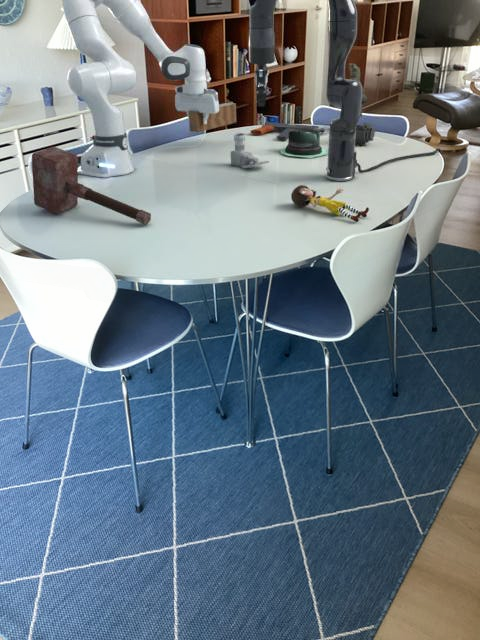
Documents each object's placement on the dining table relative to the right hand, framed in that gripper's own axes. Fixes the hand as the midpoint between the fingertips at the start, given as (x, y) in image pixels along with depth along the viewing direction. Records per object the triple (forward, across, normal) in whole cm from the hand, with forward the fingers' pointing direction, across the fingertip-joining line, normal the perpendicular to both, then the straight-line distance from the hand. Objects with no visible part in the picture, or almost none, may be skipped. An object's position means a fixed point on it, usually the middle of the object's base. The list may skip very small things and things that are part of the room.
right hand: (261, 103), depth 171 cm
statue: (+29, +101, -41) cm, 113 cm away
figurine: (+29, -15, -21) cm, 39 cm away
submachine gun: (+29, +93, -8) cm, 98 cm away
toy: (+29, +74, -39) cm, 89 cm away
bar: (+20, +69, +23) cm, 76 cm away
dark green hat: (+29, +60, -16) cm, 68 cm away
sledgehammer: (+29, -20, +51) cm, 62 cm away
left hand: (+17, +61, +29) cm, 70 cm away
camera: (+29, +37, +7) cm, 47 cm away
